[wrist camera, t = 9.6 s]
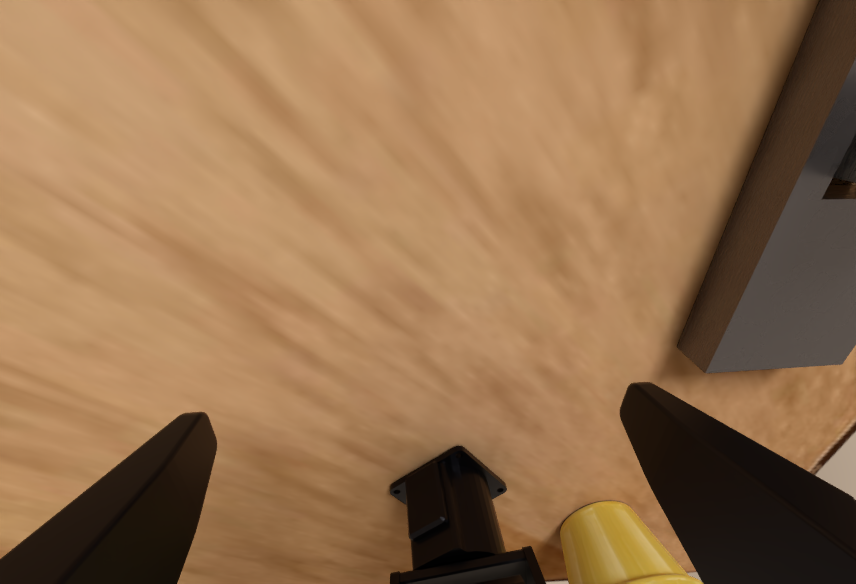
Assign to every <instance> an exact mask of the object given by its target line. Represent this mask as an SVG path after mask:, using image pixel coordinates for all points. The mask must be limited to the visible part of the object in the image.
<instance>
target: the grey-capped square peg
mask: <svg viewBox="0 0 856 584" xmlns="http://www.w3.org/2000/svg"><path fill="white" fill-rule="evenodd" d="M833 178H837V179H841V180H846V181H850V182H855V183H856V134H855V136H854V138H853V140H852V142H851V143H850V145H849V147H848V149H847V151H846V153H845V155H844V157H843V159H842V161H841V163H840V165H839V167H838V169H837V170H836V172H835V174H834V176H833Z"/></svg>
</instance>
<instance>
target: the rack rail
mask: <svg viewBox="0 0 856 584" xmlns="http://www.w3.org/2000/svg"><path fill="white" fill-rule="evenodd" d="M855 134H856V0H820V1H819V3H818V6H817V8H816V11H815V13H814V15H813V18H812V20H811V23H810V25H809V28H808V30H807V32H806V35H805V37H804V40H803V42H802V45H801V47H800V49H799V52H798V54H797V57H796V59H795V62H794V64H793V66H792V69H791V71H790V74H789V76H788V78H787V81H786V83H785V86H784V88H783V91H782V93H781V95H780V98H779V100H778V103H777V105H776V108H775V110H774V112H773V115H772V117H771V120H770V122H769V125H768V127H767V129H766V132H765V134H764V137H763V139H762V142H761V144H760V146H759V149H758V151H757V154H756V156H755V159H754V161H753V163H752V166H751V168H750V171H749V173H748V176H747V178H746V180H745V183H744V185H743V188H742V190H741V193H740V195H739V197H738V200H737V202H736V205H735V207H734V210H733V212H732V214H731V217H730V219H729V222H728V224H727V227H726V229H725V231H724V234H723V236H722V239H721V241H720V243H719V246H718V248H717V251H716V253H715V256H714V258H713V260H712V263H711V265H710V268H709V270H708V273H707V275H706V277H705V280H704V282H703V285H702V287H701V290H700V292H699V294H698V297H697V299H696V302H695V304H694V307H693V309H692V311H691V314H690V316H689V319H688V321H687V324H686V326H685V328H684V331H683V333H682V336H681V338H680V341H679V343H678V345H677V348H678V349H679V350H681V351H682V352H683V353H684V354H685V355H686V356H687V357H688V358H689V359H690V360H691V361H692V362H694V363H695V364H696V365H697V366H698V367H699V368H700V369H701V370H702V371H703V372H704V373H718V372H734V371H749V370H764V369H779V368H794V367H809V366H825V365H840V364H843V362H844V361H845V359H846V358H847V357H848V355H849V354H850V352H851V351H852V349H853V348H854V346H855V345H856V185H829V184H830V182H831V180H832V178H833V176H834V174H835V172H836V170H837V169H838V167H839V165H840V163H841V161H842V159H843V157H844V155H845V153H846V151H847V149H848V147H849V145H850V143H851V142H852V140H853V138H854V136H855Z"/></svg>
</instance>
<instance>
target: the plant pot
mask: <svg viewBox="0 0 856 584" xmlns="http://www.w3.org/2000/svg"><path fill="white" fill-rule="evenodd" d="M560 538H561V544H562V549H563V554H564V560H565V565H566V571H567V576H568V582H569V584H703V583H702V582H701V581H700V580H698V579H696V578H693V577H690V576H689V575H688V574H687V573H686V572H685V571H684V570H683V568H682V567H681V566H680V565H679V564H678V563H677V562H676V560H675V559H674V558H673V557H672V556H671V555H670V553H669V552H668V551H667V550H666V549H665V548H664V546H663V545H662V544H661V543H660V542H659V541H658V539H657V538H656V537H655V536H654V535H653V534H652V532H651V531H650V530H649V529H648V528H647V527H646V525H645V524H644V523H643V522H642V521H641V519H640V518H639V517H638V516H637V515H636V514H635V512H634V511H633V510H632V509H631V508H630V507H629V506H628V505H626V504H624V503H621V502H617V501H602V502H596V503H593V504H590V505H587V506H585V507H583V508H581V509H579V510H577V511H575V512H574V513H573V514H571V515H570V516H569V517H568V518H567V519H566V520H565V522H564V523H563V525H562V527H561V530H560Z"/></svg>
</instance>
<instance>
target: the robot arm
mask: <svg viewBox="0 0 856 584" xmlns="http://www.w3.org/2000/svg"><path fill="white" fill-rule="evenodd" d="M620 418H621V421H622V423H623V426H624V428H625V430H626V433H627V435H628V437H629V439H630V442H631V444H632V446H633V449H634V451H635V453H636V456H637V458H638V460H639V463H640V465H641V467H642V470H643V472H644V474H645V476H646V478H647V481H648V483H649V485H650V487H651V489H652V491H653V493H654V494H655V496H656V498H657V500H658V502H659V504H660V506H661V507H662V509H663V511H664V513H665V515H666V516H667V518H668V520H669V522H670V524H671V526H672V527H673V529H674V531H675V533H676V535H677V536H678V538H679V540H680V542H681V544H682V546H683V547H684V549H685V551H686V553H687V555H688V556H689V558H690V560H691V562H692V564H693V566H694V567H695V569H696V571H697V573H698V575H699V576H700V578H701V580H702V582H703V584H856V500H855V499H854V498H853V497H852V496H850V495H849V494H847V493H845V492H843V491H842V490H840V489H838V488H836V487H834V486H833V485H831V484H829V483H827V482H826V481H824V480H822V479H820V478H819V477H817V476H815V475H813V474H812V473H810V472H808V471H806V470H804V469H803V468H801V467H799V466H797V465H796V464H794V463H792V462H790V461H789V460H787V459H785V458H783V457H781V456H780V455H778V454H776V453H774V452H773V451H771V450H769V449H767V448H766V447H764V446H762V445H760V444H759V443H757V442H755V441H753V440H751V439H750V438H748V437H746V436H744V435H743V434H741V433H739V432H737V431H736V430H734V429H732V428H730V427H728V426H727V425H725V424H723V423H721V422H720V421H718V420H716V419H714V418H713V417H711V416H709V415H707V414H705V413H704V412H702V411H700V410H698V409H697V408H695V407H693V406H691V405H690V404H688V403H686V402H684V401H682V400H681V399H679V398H677V397H675V396H674V395H672V394H670V393H668V392H667V391H665V390H663V389H661V388H660V387H658V386H656V385H654V384H652V383H650V382H638V383H631V384H630V385H629V386H628V388H627V391H626V393H625V396H624V399H623V402H622V405H621V407H620ZM216 451H217V440H216V436H215V434H214V431H213V428H212V425H211V423H210V420H209V417H208V415H207V414H206V413H204V412H192V413H184V414H181V415H180V416H178V417H177V418H176V419H174V420H173V421H172V422H171V423H169V424H168V425H167V426H166V427H164V428H163V429H162V430H161V431H159V432H158V433H157V434H156V435H154V436H153V437H152V438H151V439H149V440H148V441H147V442H146V443H144V444H143V445H142V446H141V447H139V448H138V449H137V450H136V451H134V452H133V453H132V454H131V455H129V456H128V457H127V458H126V459H124V460H123V461H122V462H121V463H120V464H118V465H117V466H116V467H115V468H113V469H112V470H111V471H110V472H108V473H107V474H106V475H105V476H103V477H102V478H101V479H100V480H98V481H97V482H96V483H95V484H93V485H92V486H91V487H90V488H88V489H87V490H86V491H85V492H83V493H82V494H81V495H80V496H78V497H77V498H76V499H75V500H73V501H72V502H71V503H70V504H68V505H67V506H66V507H65V508H63V509H62V510H61V511H60V512H58V513H57V514H56V515H55V516H53V517H52V518H51V519H50V520H48V521H47V522H46V523H45V524H43V525H42V526H41V527H40V528H38V529H37V530H36V531H35V532H33V533H32V534H31V535H30V536H28V537H27V538H26V539H25V540H23V541H22V542H21V543H20V544H18V545H17V546H16V547H15V548H13V549H12V550H11V551H10V552H8V553H7V554H6V555H5V556H3V557H2V558H1V559H0V584H177V582H178V580H179V577H180V574H181V571H182V569H183V566H184V563H185V560H186V558H187V555H188V552H189V549H190V547H191V544H192V541H193V538H194V535H195V532H196V529H197V526H198V522H199V518H200V515H201V511H202V507H203V503H204V499H205V495H206V491H207V487H208V483H209V479H210V475H211V471H212V467H213V463H214V459H215V455H216ZM506 490H507V488H506V484H505V482H503V481H502V480H501V479H500V478H499V477H498V476H497V475H495V474H494V473H493V472H492V471H491V470H490V469H488V468H487V467H486V466H485V465H484V464H483V463H482V462H480V461H479V460H478V459H477V458H476V457H475V456H473V455H472V454H471V453H470V452H469V451H468V450H467V449H465V448H464V447H463V446H456V447H453V448H452V449H450V450H448V451H447V452H445V453H443V454H442V455H440V456H438V457H437V458H435V459H433V460H432V461H430V462H428V463H427V464H425V465H423V466H421V467H420V468H418V469H416V470H415V471H413V472H411V473H410V474H408V475H406V476H405V477H403V478H401V479H400V480H398V481H396V482H394V483H393V484H392V485H391V486H390V494H391V495H392V496H394V497H395V498H397V499H398V500H400V501H401V502H403V503H404V504H406V505H407V518H408V534H409V538H410V539H411V551H412V565H413V571H408V572H403V573H400V572H399V571H398V572H393V573H391V574H390V584H546V583H545V580H544V577H543V575H542V572H541V570H540V567H539V565H538V562H537V560H536V557H535V555H534V552H533V549H532V547H531V546H527V547H522V549H521V550H515V551H510V552H506V550H505V546H504V542H503V539H502V535H501V531H500V527H499V523H498V520H497V516H496V512H495V508H494V505H493V501H492V499H494V498H496V497H497V496H499V495H501V494H503V493H505V492H506Z"/></svg>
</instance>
